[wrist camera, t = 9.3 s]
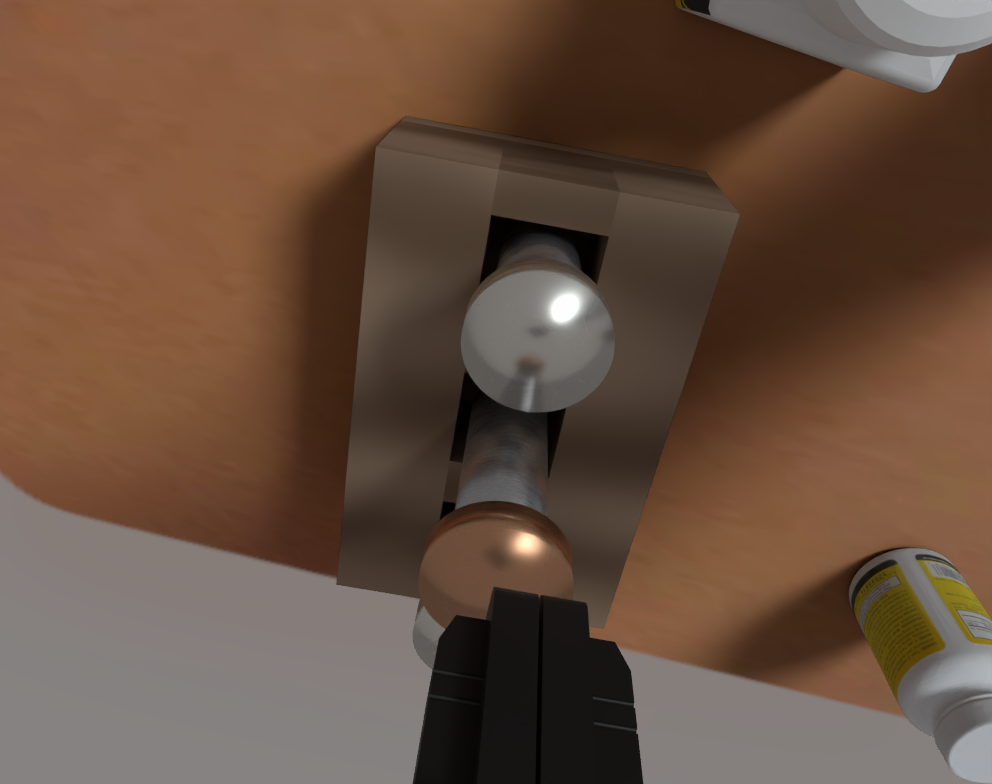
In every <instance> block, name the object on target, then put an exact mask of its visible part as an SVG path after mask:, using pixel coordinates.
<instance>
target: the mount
mask: <svg viewBox="0 0 992 784" xmlns="http://www.w3.org/2000/svg"><path fill="white" fill-rule="evenodd" d="M739 217H740V213H739V212H738V211H737V210H736V208H735V207H734V206H733V205H732V203H731V202H730V201H729V200H728V198H727V197H726V196H725V195H724V194H723V192H722V191H721V190H720V189H719V187H718V186H717V185H716V184H715V182H714V181H713V180H712V179H711V177H710V176H709V175H708V174H707V172H703V171H698V170H692V169H687V168H682V167H676V166H671V165H666V164H660V163H655V162H650V161H644V160H639V159H634V158H628V157H623V156H617V155H612V154H607V153H601V152H596V151H591V150H585V149H580V148H575V147H569V146H564V145H559V144H553V143H548V142H542V141H537V140H532V139H526V138H521V137H516V136H510V135H505V134H500V133H494V132H489V131H484V130H478V129H473V128H467V127H462V126H457V125H451V124H446V123H441V122H435V121H430V120H425V119H419V118H414V117H409V116H405V117H404V118H403V119H402V120H401V121H400V122H399V123H398V124H397V125H396V126H395V127H394V128H393V129H392V130H391V132H390V133H389V134H388V135H387V136H386V137H385V138H384V139H383V140H382V141H381V142H380V143H379V144H378V145H377V146H376V150H375V161H374V172H373V183H372V195H371V206H370V217H369V228H368V239H367V250H366V261H365V272H364V284H363V295H362V306H361V317H360V328H359V339H358V350H357V361H356V373H355V384H354V395H353V406H352V417H351V428H350V439H349V450H348V461H347V473H346V484H345V495H344V506H343V517H342V528H341V539H340V550H339V562H338V573H337V585H342V586H349V587H354V588H360V589H367V590H373V591H379V592H385V593H391V594H397V595H403V596H409V597H415V598H420V594H419V589H418V577H419V572H420V567H421V562H422V558H423V553H424V548H425V544H426V540H427V538H428V536H429V534H430V532H431V531H432V529H433V528H434V526H435V525H436V524H437V523H438V522H439V521H440V520H441V519H442V518H443V517H445V516H446V515H447V514H449V513H451V512H452V511H453V509H454V503H456V500H457V494H458V487H459V481H460V475H461V469H462V463H463V457H464V451H465V445H466V439H467V433H468V427H469V421H470V415H471V409H472V403H473V399H474V396H475V394H476V392H477V391H478V389H479V387H478V386H477V385H476V384H475V382H474V381H473V379H472V378H471V377H470V375H469V373H468V371H467V369H466V367H465V364H464V361H463V357H462V352H461V333H462V328H463V324H464V320H465V315H466V311H467V307H468V304H469V302H470V299H471V297H472V296H473V294H474V292H475V291H476V289H477V288H478V287H479V285H480V284H481V283H482V282H483V281H484V280H485V279H486V278H487V277H488V276H489V275H491V274H492V273H493V272H495V271H496V269H497V263H498V257H499V250H500V244H501V238H502V231H503V227H504V224H505V222H506V220H507V218H511V219H516V220H522V221H527V222H533V223H538V224H544V225H549V226H555V227H560V228H566V229H571V230H576V232H577V240H578V248H579V256H580V264H581V271H582V272H583V273H585V274H586V275H587V276H588V277H590V278H591V279H592V280H593V281H594V282H595V283H596V285H597V286H598V287H599V289H600V290H601V291H602V293H603V295H604V297H605V298H606V301H607V303H608V306H609V310H610V314H611V318H612V324H613V329H614V336H615V351H614V356H613V360H612V363H611V366H610V369H609V370H608V372H607V374H606V376H605V378H604V379H603V381H602V382H601V383H600V385H599V386H598V387H597V388H596V389H595V390H594V391H593V392H592V393H591V394H589V395H588V396H587V397H586V398H584V399H582V400H581V401H579V402H577V403H575V404H573V405H571V406H569V407H566V408H563V409H560V410H556V411H550V412H547V443H548V518H549V519H550V520H552V521H553V522H554V523H555V524H556V525H557V526H558V527H559V528H560V529H561V531H562V532H563V534H564V535H565V537H566V539H567V541H568V543H569V545H570V549H571V553H572V564H573V584H574V591H573V599H572V600H574V601H580V602H586V603H587V606H588V617H589V626H590V627H596V628H602V629H604V626H605V623H606V620H607V617H608V614H609V610H610V607H611V604H612V601H613V598H614V595H615V592H616V589H617V586H618V583H619V580H620V577H621V574H622V571H623V568H624V565H625V562H626V559H627V556H628V553H629V550H630V547H631V544H632V541H633V538H634V535H635V532H636V529H637V526H638V523H639V520H640V517H641V514H642V511H643V508H644V505H645V501H646V498H647V495H648V492H649V489H650V486H651V483H652V480H653V477H654V474H655V471H656V468H657V465H658V462H659V459H660V456H661V453H662V450H663V447H664V444H665V441H666V438H667V435H668V432H669V429H670V426H671V423H672V420H673V417H674V414H675V411H676V408H677V405H678V402H679V399H680V396H681V392H682V389H683V386H684V383H685V380H686V377H687V374H688V371H689V368H690V365H691V362H692V359H693V356H694V353H695V350H696V347H697V344H698V341H699V338H700V335H701V332H702V329H703V326H704V323H705V320H706V317H707V314H708V311H709V308H710V305H711V302H712V299H713V296H714V293H715V290H716V287H717V283H718V280H719V277H720V274H721V271H722V268H723V265H724V262H725V259H726V256H727V253H728V250H729V247H730V244H731V241H732V238H733V235H734V232H735V229H736V226H737V223H738V220H739Z"/></svg>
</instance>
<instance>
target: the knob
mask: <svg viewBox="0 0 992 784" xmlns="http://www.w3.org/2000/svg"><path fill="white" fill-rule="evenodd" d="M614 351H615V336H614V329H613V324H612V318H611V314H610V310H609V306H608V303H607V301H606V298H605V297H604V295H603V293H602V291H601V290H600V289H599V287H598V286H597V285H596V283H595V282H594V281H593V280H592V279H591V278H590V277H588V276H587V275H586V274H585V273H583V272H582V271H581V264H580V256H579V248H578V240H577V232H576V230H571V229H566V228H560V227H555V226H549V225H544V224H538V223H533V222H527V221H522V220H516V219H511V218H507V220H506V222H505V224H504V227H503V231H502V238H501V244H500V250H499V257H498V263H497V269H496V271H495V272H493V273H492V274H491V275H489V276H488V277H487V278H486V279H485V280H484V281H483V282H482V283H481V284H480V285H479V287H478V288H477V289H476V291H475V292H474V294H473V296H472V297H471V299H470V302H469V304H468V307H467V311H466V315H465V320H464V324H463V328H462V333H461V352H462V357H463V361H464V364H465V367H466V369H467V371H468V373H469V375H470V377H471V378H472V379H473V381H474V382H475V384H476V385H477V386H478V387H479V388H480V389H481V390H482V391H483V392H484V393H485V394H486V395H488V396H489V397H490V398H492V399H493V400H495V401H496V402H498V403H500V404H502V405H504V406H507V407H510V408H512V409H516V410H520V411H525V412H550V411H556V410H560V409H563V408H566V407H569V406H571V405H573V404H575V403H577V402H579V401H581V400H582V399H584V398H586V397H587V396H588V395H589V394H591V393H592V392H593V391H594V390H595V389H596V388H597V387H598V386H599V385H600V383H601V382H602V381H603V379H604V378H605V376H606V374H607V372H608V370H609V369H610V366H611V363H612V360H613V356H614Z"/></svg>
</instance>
